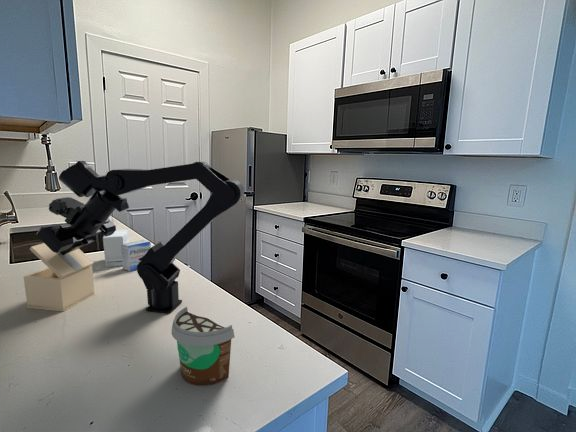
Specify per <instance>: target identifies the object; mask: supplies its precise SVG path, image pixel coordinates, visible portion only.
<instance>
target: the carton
mask: <svg viewBox="0 0 576 432" xmlns="http://www.w3.org/2000/svg"><path fill="white" fill-rule="evenodd" d="M93 273H94V272H93V265H91V266H89V267H86V268H84V269H82V270H79V271H77V272H75V273H72V274H70V275H68V276H65V277H63V278H61V279H60V278H59V277H58V276H57V275H56V274H55V273H54V272H53V271H52V270H51V269H50V268H49V267H48V266H47V267H45V268H42V269H41V270H37V271H35V272H32V273H29V274H27V275H24V276H23V282H24V290H25V298H26V306H27V308H28V309H34V310H35V309H36V310H47V311H54V312H55V311H56V312H65V311H67V310H69V309H71V308H73V307H74V306H76V305H78V304H79V303H81V302H83V301H85V300H87V299H89V298H91V297H93V296H94V295H95V284H94V274H93Z"/></svg>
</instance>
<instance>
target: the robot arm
mask: <svg viewBox="0 0 576 432" xmlns="http://www.w3.org/2000/svg"><path fill="white" fill-rule="evenodd" d="M58 180H59V181H60V182H62V184H63V185H64V186H65V187H67V188H68V189H69V190H70V191H71V192H73V193H74V195H76V196H77V197H78V198H84V197H85V198H88V200H87V202H86V203H83V202H81V201H79V200H77V199H75V198H72V197H67V196H66V197H60V198H56V199H53V200H52V201H51V202H50V203H49V204H48V210H49V212H51V213H53V214H55V215H56V216H61V217H63V218H65V219H64V222H65V223H66V224H67V225H69V226H65V227H63V226H62V225H61V224H58V223H57V224H56V223H53V224H49V225H45V226H41V227H40V228H39V229H38V230H37V232H36V236H37V238H39V240H41V241H42V243H45V244H46V245H47V246H48V247H49V248H50V249H51V250H52V251H53V252H56V253H58V252H60V253H61V254H62V255H65V254H68V253H70V252H72V251H74V250H76V249H78V248H79V249H80V248H82V247H85V246H87V245H89V244H91V243H94V242H96V241H97V238H96V237H95V236H97V235H99V234H100V233H101V232H102V231H103V230H104V233H103V237H104V236H105V237H107V236H110V235H112V234H113V233H114V232H115V231H116V230H117V227H116V224H115V223H114V222H113V221H112V220H111V219H110V217H111V215H112V214H113V213H114V212H115V211H117V212H119V213H121V212H123V211H126V210H128V209H130V206H129V203H128V199H127V197H125V198H123V197H121V196H122V195H126V194H130V193H134V192H137V191H140V190H143V189H147V188H148V187H151V186H156V185H157V186H158V185H162V184H163V185H164V184H169V183H178V182H185V181H191V180H197V182H199V183H200V184H201V185H203V187H204V188H205V189H206V190H207V191H208V192H211V195H210V196H209V198H208V200H207V201H206V203H205V205H204V206H203V207H202V208H201V209H200V210H199V211H198V212H197V213H196V214H195V215H194V216H193V217H192V218H191V219H190V220H188V222H186V224H185V225H184V226H182V228H181V229H180V230H178V232H177V233H175V234H174V235H173V237H171V238H170V239H169V240H168V241H167V242H166V243H165V244H163V243H162V241H159V242H158V243H155V244H154V245H153V246H151V248H150V249H149V250H148V251H147V253H146V254H145V255H144V256H142V257H141V258H139V259H138V260H140V262H139V263H138V265H137V270H136V272H137V275H138V277H139V278H140V279H141V280H142V282H143V284H144V287H145V289H146V293H147V299H146V300H147V305H148V306H147V307H146V308H145V311H146V312H155V313H163V314H170V313H172V312H173V311H174V310H175V309H176V308H178V307H179V306H180V305H181V304H182V302H183V299H180V298H179V297H180V296H179V281H176V279H178V278H179V275H180V273H181V269H180V268H179V267H178V266H177V265H176V264H174V262H175V261H176V259H177V257H178V255H179V253H180V252H181V251H182V250H183V249H184V248H186V247H187V246H188V245H189V243H191V242H192V240H194V239H195V238H196V237H197V236H198V235H199V234H200V233H201V232H203V230H204V229H205V228H206V227H207V226H209V224H210V223H211V222H212V221H213V220H215V218H217V217H218V216H220V215H221V214H223V213H225V212H226V211H228V210H229V209H230V208H232V207H233V206H235V205H236V204H238V202H241V200H242V199H243V198H244V195H245V188H244V185H243V184H242V182H240V180H237V179H232V178H231V179H230V178H229V177H227V176H226V175H225V174H224V173H222V172H220V171H218V170H216V169H215V168H214V167H212V165H210V164H208V163H207V162H206V161H195V162H193V163H188V164H187V163H186V164H181V165H172V166H167V167H158V168H153V169H141V168H139V169H138V168H122V169H120V168H119V169H111V170H108V171H107V172H106V174H104V175H99V174H98V173H97V172H96V171H95V170H94V169H93V168H92V167H91V166H90V165H89V164H88V163H87V162H86V161H85V160H78V161H77V162H76V163H74V164H72V165H71V166H69V167H67V168H66V169H64V170H62V171H61V173H60V174H59V175H58Z"/></svg>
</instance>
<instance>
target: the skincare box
mask: <svg viewBox="0 0 576 432" xmlns="http://www.w3.org/2000/svg"><path fill="white" fill-rule="evenodd" d="M102 243H103V251H104V252H103V253H104V262H105V267H106V268H108V267H109V268H111V267H123V260H122V248H121V244H125V243H131V240H130V230H129V229H116V231H115V232H114V233H113V234H112V235H110V236H107V237H105V236H104V235H103V237H102Z"/></svg>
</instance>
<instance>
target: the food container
mask: <svg viewBox="0 0 576 432" xmlns="http://www.w3.org/2000/svg"><path fill="white" fill-rule="evenodd" d="M170 331H171V332H170V333H171V336H172V337H173V339H174V340H175V341H176V344H177V345H176V346H177V351H178V358H179V365H180V373H181V378H182V379H183V380H184V381H185V382H186V383H187V384H190V385H192V386H193V385H194V386H197V387H198V386H199V387H203V386H204V387H205V386H206V387H207V386H211V385H215V384H218V383H221V382H223V381H225V380H226V379H228V378H230V377H229V376H230V364H231V363H230V361H231V350H232V339H234V338H235V331H234V328H233V324H231V325H227V326H226V327H225V326H222V325H220V324H218V323H216V322H215V321H213V320H212V319H209V318H208V317H204V316H200V315H199V316H198V315H196V314H194V313H191V312H189V311H188V306H185V307H184V308H182V309H180V310H179V311H178V312H176V314H175V316H174V318H173V321H172V325H171V330H170Z"/></svg>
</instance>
